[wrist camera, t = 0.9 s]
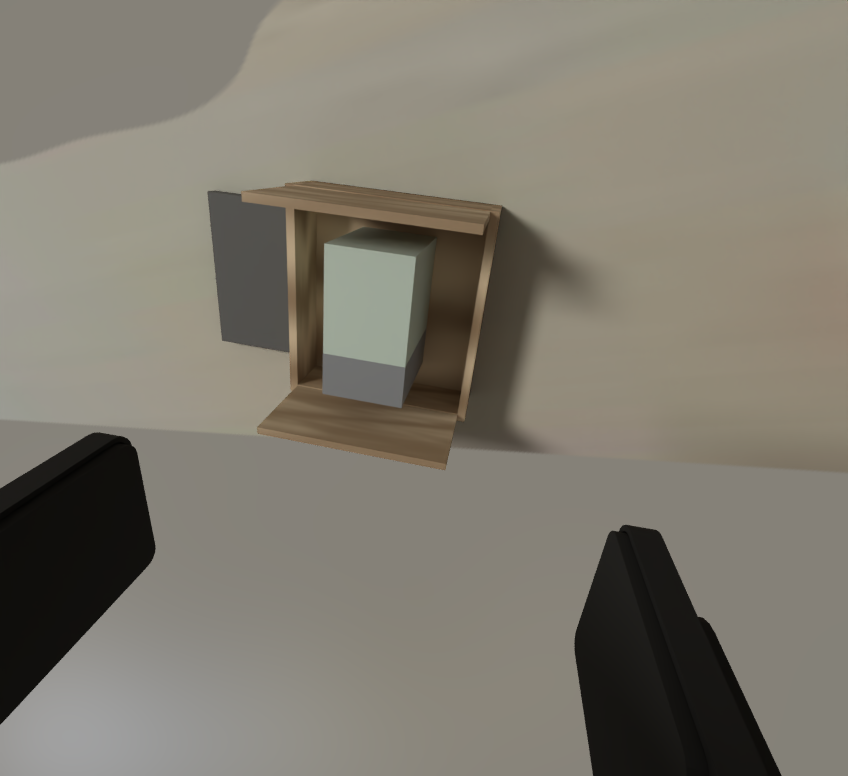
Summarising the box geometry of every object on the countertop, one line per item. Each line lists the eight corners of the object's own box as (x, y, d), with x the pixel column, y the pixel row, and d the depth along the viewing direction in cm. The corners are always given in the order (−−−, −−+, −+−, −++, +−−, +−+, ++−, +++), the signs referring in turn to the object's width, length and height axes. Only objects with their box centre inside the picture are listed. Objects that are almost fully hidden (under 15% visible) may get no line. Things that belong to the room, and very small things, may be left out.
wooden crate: (311, 180, 34) (230, 188, 24) (501, 205, 32) (496, 225, 23) (312, 367, 41) (249, 432, 31) (469, 395, 39) (454, 472, 30)
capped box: (363, 226, 34) (323, 243, 27) (437, 236, 34) (416, 257, 26) (357, 351, 39) (322, 393, 32) (422, 362, 38) (401, 408, 31)
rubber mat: (215, 190, 36) (207, 191, 35) (301, 202, 35) (296, 203, 34) (228, 336, 41) (222, 340, 40) (303, 349, 40) (299, 353, 39)
